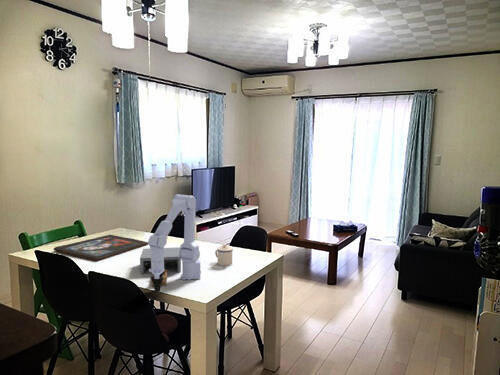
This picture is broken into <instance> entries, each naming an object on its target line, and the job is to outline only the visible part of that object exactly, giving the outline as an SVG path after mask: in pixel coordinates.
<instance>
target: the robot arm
mask: <svg viewBox="0 0 500 375" xmlns="http://www.w3.org/2000/svg"><path fill="white" fill-rule="evenodd" d="M171 202H172V206H171V208H170V209H169V212H168V214H167V216H166V218H165V219H164V220H161V222H160V223H159V224H158V227H157V228H156V230H155V232H154V234H152V235H150V236H149V238H148V241H147V242H148V246H149V248H150V250H151V264H150V268H149V269H148V272H149V273H152V275H153V274H154V277H153V276H150V281H151V283H152V282H153V285H154V286H153V289H154V293H160V292H161V288H162V286H161V283H162V280H163V278H164V277H162V276H163V273H164V270H165V263H164V248H165V246H166V245H167V243H168V242H167V241H168V235H170V232H171V230H172V228H173V222H174V221H175V219H176V218H177V217H178V215H179V214H180V212H181V211H182V212H184V227H183V228H184V229H183V230H184V232H183V233H184V234H183V236H184V237H183V243H181V244H180V246H179V247H180V251H179V257H180V258H181V280H183V281H186V279H187V280H200V279H201V274H202V271H201V259H200V255H201V251H200V246H199V245H198V244H197V243H196V240H195V236H196V232H195V231H196V210H197V199H196V197H194V195H191V194H190V195H187V194H179V193H177V194H175V195H174V196H173V199H172V200H171Z"/></svg>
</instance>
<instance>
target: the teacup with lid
mask: <svg viewBox="0 0 500 375" xmlns="http://www.w3.org/2000/svg"><path fill="white" fill-rule="evenodd" d="M214 252H215V253H214V254H215V257H216V258H217V265H218V266H221V267H227V266H232V264H233V248H232V246H229V245H227V243H224V244H223V245H221V246H219V247H217V248H216V250H215V251H214Z"/></svg>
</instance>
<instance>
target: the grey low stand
mask: <svg viewBox="0 0 500 375" xmlns="http://www.w3.org/2000/svg"><path fill="white" fill-rule="evenodd" d="M179 251H180V246H177V247H164V264H177V273H182V260H181V258H180V257H179ZM147 265H151V250H150V247H149V248H143V249H142V251H141V254H140V257H139V266H140V267H139V269H140V270H139V271H140V272H139V273H140V275H144V274H143V273H145V269H146V266H147Z"/></svg>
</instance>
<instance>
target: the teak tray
mask: <svg viewBox="0 0 500 375" xmlns="http://www.w3.org/2000/svg"><path fill="white" fill-rule="evenodd" d="M152 277H154V274H153V273H152ZM162 277H164V278H163V280H162V283H161V285H166V286H167V284H168V283H167V281H168V269H164V273H163V276H162ZM166 283H167V284H166ZM151 287H154V285H153V282H152V281H151Z"/></svg>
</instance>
